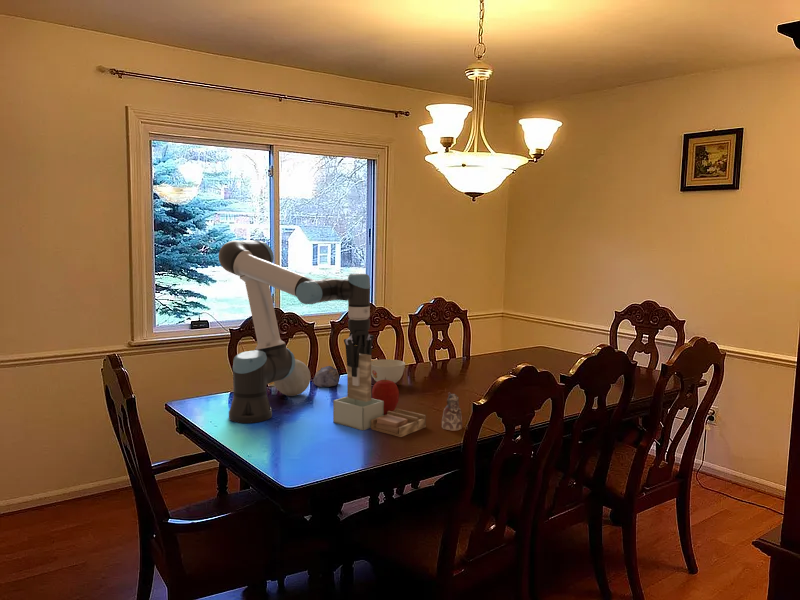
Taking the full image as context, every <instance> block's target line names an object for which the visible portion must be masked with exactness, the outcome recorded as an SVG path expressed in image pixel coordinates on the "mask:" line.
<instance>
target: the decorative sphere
mask: <svg viewBox="0 0 800 600" xmlns="http://www.w3.org/2000/svg"><path fill="white" fill-rule="evenodd" d="M310 382H311V372H310V369H309V367H308V366H307V365H306V363H305V362H303V361H302V360H299V359H296V358H295V368H294V370H293V372H292V373H291V375H289V376H288V377H286V378H284V379H283V380H279V381H275V382H273V384H274V386H275V388H276V389H277V391H279V393H281V394H282V395H285V396H287V397H295V396H298V395H301V394H302V393H304V392H305V391H306V390H307V389H308V387H309V386H310Z"/></svg>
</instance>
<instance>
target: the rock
mask: <svg viewBox="0 0 800 600" xmlns="http://www.w3.org/2000/svg"><path fill="white" fill-rule="evenodd" d="M312 381H313V383H314V386H317V387H319V388H324V387H326V388H327V387H328V388H329V387H335V386H337V385H338V384H339V382H340V375H339V372H338V369H337V368H334V367H333V366H331V365H328V366H324V367H321V368H320V369H319V370H317V372H315V375H314V377H313V379H312Z"/></svg>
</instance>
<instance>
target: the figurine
mask: <svg viewBox="0 0 800 600" xmlns="http://www.w3.org/2000/svg"><path fill="white" fill-rule="evenodd" d="M447 396H448V397H447V399H446V406H445V407H444V408H443V412H442V418H441V428H442V429H443V430H445V431H447V430H448V431H453V432H454V431H459V430H462V429H463V418H462V415H463V414H462V409H461V407H460V402H459V399H460V398H459V396H458V395H457V394H456V393H452V392H450V391H449V392H447Z"/></svg>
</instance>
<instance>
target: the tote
mask: <svg viewBox="0 0 800 600" xmlns="http://www.w3.org/2000/svg"><path fill="white" fill-rule="evenodd" d="M332 403H333V404H332V405H333V410H332V411H333V412H332V413H333V414H332V415H333V418H332V421H333V422H332V423H334V424H338V425H341V426H344V427H347V428H348V427H349V428H352V429H356V430H358V431H359V430H360V431H366V430H369V429H371V420H373V419H375V418H378V417H381V416H384V401H381V400H377V399H373V398H372V397H371V401H368V402H365V401H361V400H356V399H352V398H348V397H347V396H344V397H340V398H337V399H334V400H333V401H332Z"/></svg>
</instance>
